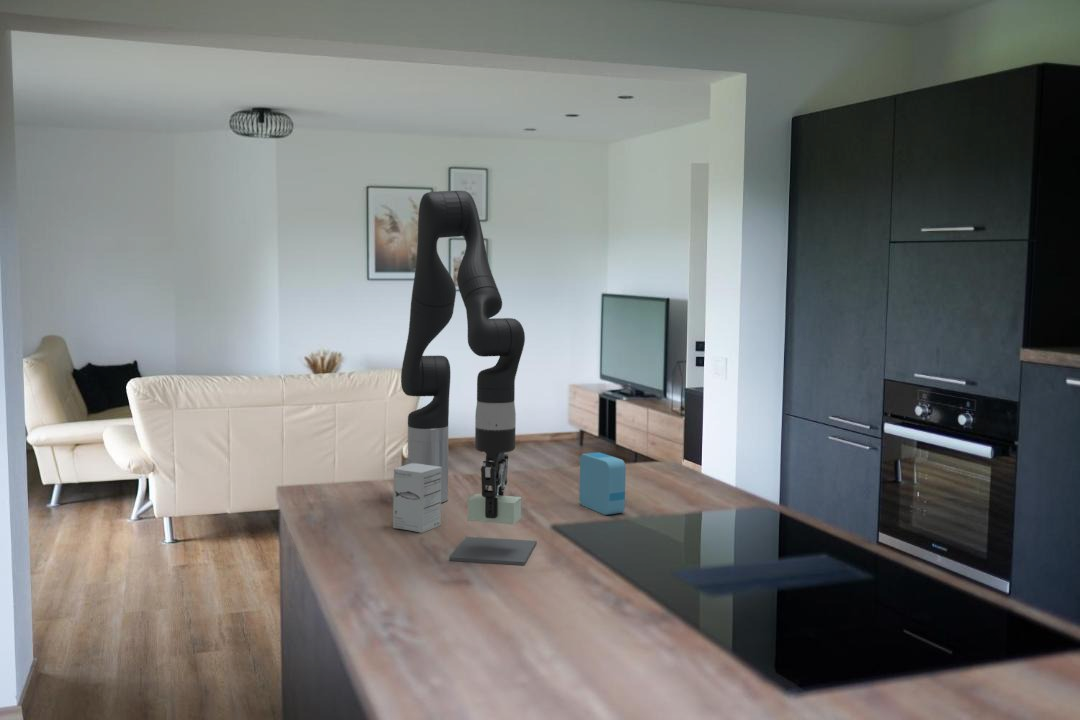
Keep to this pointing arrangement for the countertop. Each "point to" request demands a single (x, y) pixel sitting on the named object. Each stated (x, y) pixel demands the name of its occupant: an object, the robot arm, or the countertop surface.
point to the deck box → (506, 509)
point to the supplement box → (417, 497)
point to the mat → (493, 551)
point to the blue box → (602, 483)
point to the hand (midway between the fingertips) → (494, 513)
